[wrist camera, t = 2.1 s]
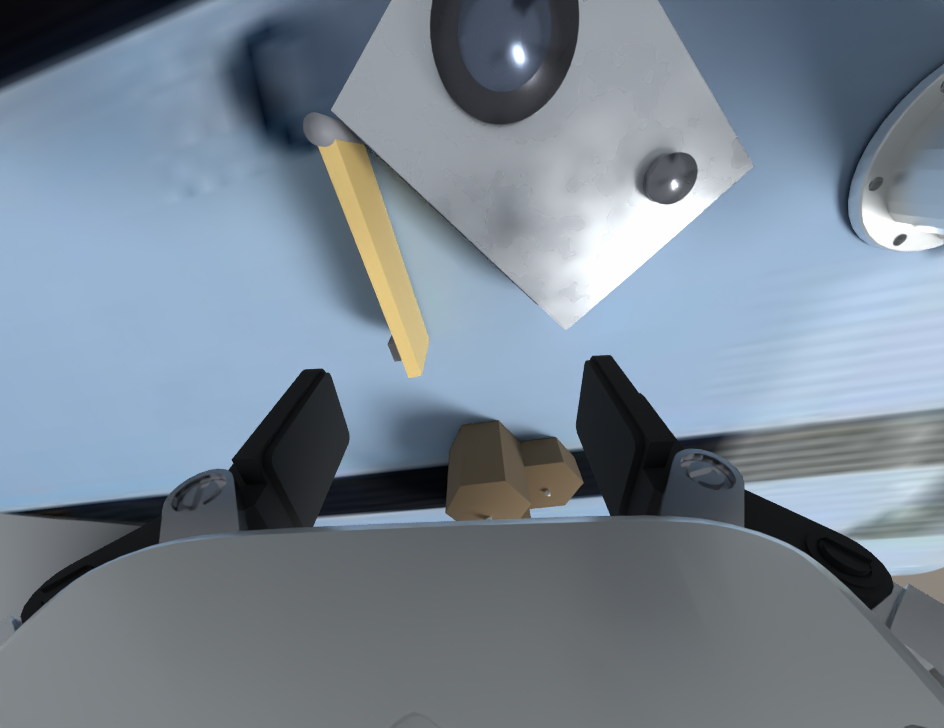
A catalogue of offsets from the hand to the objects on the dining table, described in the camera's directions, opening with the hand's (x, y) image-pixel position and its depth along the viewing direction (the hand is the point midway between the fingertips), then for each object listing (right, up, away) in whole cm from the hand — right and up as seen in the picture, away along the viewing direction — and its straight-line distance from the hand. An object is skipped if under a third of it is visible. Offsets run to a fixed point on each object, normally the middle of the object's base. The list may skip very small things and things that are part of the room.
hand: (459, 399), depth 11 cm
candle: (+4, -11, +28) cm, 30 cm away
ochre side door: (-6, +10, +15) cm, 19 cm away
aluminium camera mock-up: (+4, +16, +12) cm, 20 cm away
